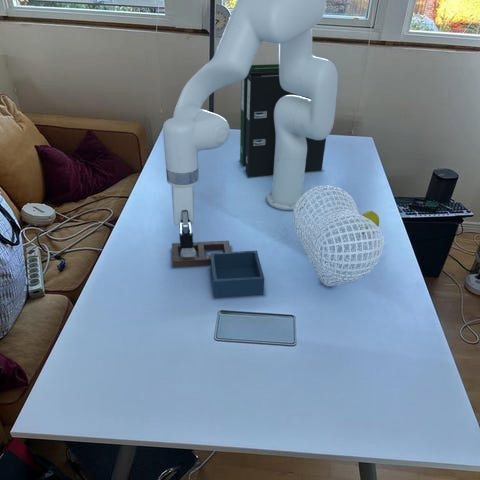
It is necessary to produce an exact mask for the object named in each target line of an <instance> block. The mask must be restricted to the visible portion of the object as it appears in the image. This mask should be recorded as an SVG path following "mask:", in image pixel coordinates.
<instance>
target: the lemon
mask: <svg viewBox="0 0 480 480" xmlns="http://www.w3.org/2000/svg"><path fill="white" fill-rule="evenodd" d="M361 216H364V217H366V218H368V219H370V220H371V221H372V222H374V223H375V224H376V225H377V226H378V228H380V217H379V215H378V214H377V213H376V212H374V211H373V210H369V211H366V212H364V213H363V214H362V215H361ZM366 221H367V220H366ZM365 225H366V224H365ZM369 226H370V224H369ZM365 228H366V229H367V227H365ZM360 230H361V228H360ZM369 233H370V232H369ZM373 234H374V235H375V233H374V231H373ZM362 235H363V236H364V232H362ZM367 236H368V234H367ZM365 237H366V235H365ZM369 237H371V235H369Z"/></svg>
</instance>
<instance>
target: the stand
mask: <svg viewBox="0 0 480 480" xmlns="http://www.w3.org/2000/svg"><path fill="white" fill-rule="evenodd" d="M193 248H194V249H195V250H196V252H197V254H198V256H197V257H180V255H179V253H181V250H182V249H181V248H180V242H174V243H171V263H172V268H173V269H174V268H191V267H192V268H193V267H206V266H207V267H208V266H211V261H210V255H206V254H205V253H206V252H211V251H213V252H214V251H223V252H232V249H231V245H230V240H212V241H210V240H209V241H193Z"/></svg>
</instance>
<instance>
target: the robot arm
mask: <svg viewBox="0 0 480 480" xmlns="http://www.w3.org/2000/svg"><path fill="white" fill-rule="evenodd" d="M327 1H328V0H236V2H235V4H234V6H233V8H232V11H231V13H230V15H229V18H228V21H227V23H226V25H225V28H224V31H223V33H222V36H221V39H220V41H219V43H218V45H217V47H216V50H215V53H214V54H213V57H212V58H211V60H209V62H207V63H206V64H205V65H203V66H202V67H201V68H199V70H197V72H196V73H195V74H194V75H192V77H190V79H189V80H188V81H187V82H186V83H185V85H184V86H183V88H182V89H181V91H180V95H179V97H178V100H177V101H176V105H175V108H174V111H173V115H172V117H170V118H168V119H167V120H165V121H164V123H163V125H162V135H163V146H164V147H163V149H164V160H165V161H164V162H165V169H166V170H165V171H166V172H165V173H166V174H165V175H166V183H168V185H170V186H171V200H172V214H173V215H172V217H173V225H175V226H178V227H179V234H178V235H179V243H180V248H181V249H184V248H193V242H194V233H193V231H192V226H193V225H194V221H195V185H196V184H198V183H199V182H200V181H199V179H200V177H199V174H200V173H199V152H200V151H208V150H215V149H218V148H221V147H222V146H223V145H224V144H225V143H226V142H227V141H228V140H229V137H230V132H231V128H230V125H229V122H228V120H227V119H226V118H225V117H223V116H222V115H219V114H217V113H214V112H211V111H208V110H206V109H203V108H202V107H203V106H204V103H205V101H206V100H207V99H208V98H209V97H210V96H211V95H212V94H213V93H215V91H217V90H220V89H221V88H224V87H227V86H230V85H233V84H237V83H239V82H241V81H242V80H243V79H245V78H246V77H247V75H248V73H249V70H250V68H251V65H253V63H254V60H255V59H256V56H257V54H258V51H259V49H260V46H261V45H262V43H263V42H268V43H272V44H277V45H278V64H279V79H280V85H281V87H282V88H283V89H284V90H285V91H288V92H290V93H293V94H297V95H300V96H296V95H286V96H283V97H282V98H280V99H279V100H278V102H277V103H276V106H275V109H274V124H275V133H276V144H275V159H274V173H273V175H272V178H273V179H272V190H271V191H270V192H269V193H268V194H267V196H266V201H267V203H268V205H269V206H271V207H273V208H275V209H279V210H283V211H294V207H295V205H296V203H297V201H298V200H299V198H300V197H301V196H302V195H303V194H304V193H303V189H304V181H305V173H306V172H305V164H306V156H307V141H306V138H305V137H307V138H310V139H314V140H323V139H325V138H326V139H327V138H328V137H329V136H330V134H331V132H332V130H333V128H334V123H335V118H336V109H337V108H336V107H337V95H338V86H339V85H338V83H339V75H338V70H337V67H336V66H335V64H334V62H332V61H331V60H329V59H327V58H323V57H319V56H315V55H314V53H313V28H314V27H316V26H317V25H318V24H319V23H320V22H321V20H322V19H323V17H324V15H325V12H326V9H327V3H328V2H327ZM301 96H304V97H308V98H310V99H308V98H304V97H301ZM304 199H305V198H304ZM305 201H306V200H305ZM301 202H302V200H301ZM300 204H301V203H300ZM304 206H305V204H304ZM191 231H192V232H191Z"/></svg>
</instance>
